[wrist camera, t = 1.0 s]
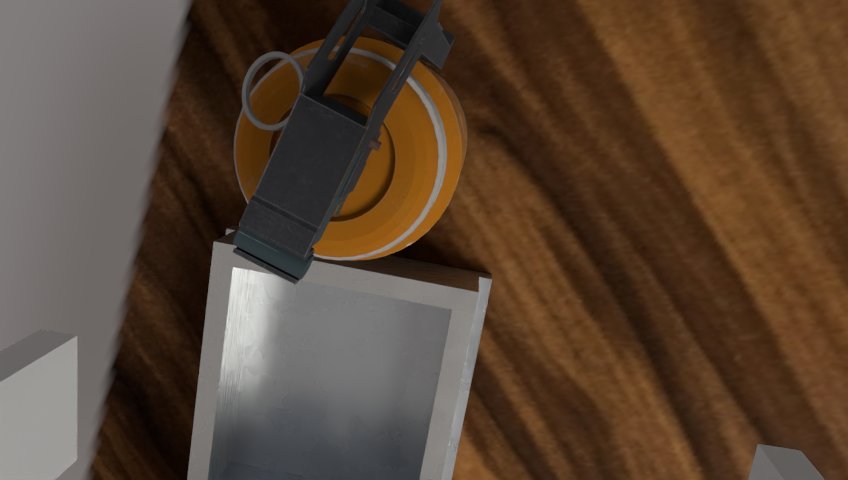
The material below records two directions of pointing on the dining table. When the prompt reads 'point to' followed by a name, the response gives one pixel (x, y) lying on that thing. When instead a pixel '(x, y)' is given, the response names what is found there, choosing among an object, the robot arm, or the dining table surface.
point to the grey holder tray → (335, 369)
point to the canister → (348, 142)
